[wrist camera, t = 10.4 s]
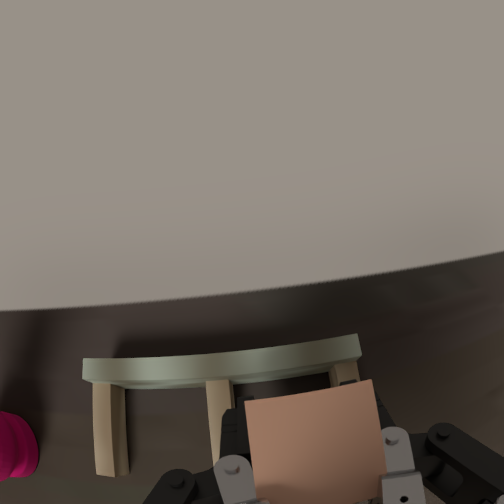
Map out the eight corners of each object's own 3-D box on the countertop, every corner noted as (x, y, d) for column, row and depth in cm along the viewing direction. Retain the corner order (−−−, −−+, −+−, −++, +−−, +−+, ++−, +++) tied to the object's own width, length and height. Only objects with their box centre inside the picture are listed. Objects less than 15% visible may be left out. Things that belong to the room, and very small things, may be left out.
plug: (266, 477, 14) (259, 519, 7) (258, 413, 16) (244, 401, 9) (336, 465, 14) (389, 492, 7) (326, 403, 16) (371, 378, 9)
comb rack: (112, 471, 17) (85, 475, 14) (108, 370, 22) (83, 358, 19) (362, 455, 18) (380, 460, 14) (343, 349, 22) (357, 333, 19)
